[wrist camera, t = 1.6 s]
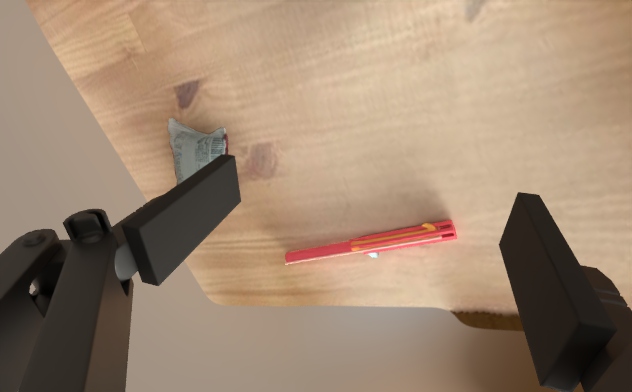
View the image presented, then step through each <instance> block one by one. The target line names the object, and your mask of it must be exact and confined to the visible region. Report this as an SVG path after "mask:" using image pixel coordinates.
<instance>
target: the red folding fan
mask: <svg viewBox="0 0 632 392" xmlns="http://www.w3.org/2000/svg"><path fill="white" fill-rule="evenodd" d="M446 225H450V226H449V227H443V228H440V227H441V226H446ZM437 227H438V228H437ZM453 239H457V235H456V231H455V227H454V225H453V223H452V221H451V220H449V221H443V222H438V223H433V224H429V223H424V224H422V226H417V227H412V228H406V229H401V230H396V231H390V232H385V233H380V234H375V235H369V236H364V237H359V238H357V239H352V240H349V241H346V242H341V243H335V244H330V245H324V246H319V247H313V248H308V249H303V250H297V251H292V252H287V253H286V256H285V257H286V262H285V265H287V264H293V263H299V262H305V261H311V260H317V259H323V258H329V257H335V256H341V255H347V254H353V253H359V252H363V254H368V255H370V256H372V257H373V258H376V257H378V256H379V253H377V252H380V251H386V250H392V249H398V248H404V247H411V246H417V245H423V244H429V243H435V242H441V241H447V240H453Z"/></svg>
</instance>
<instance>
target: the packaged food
mask: <svg viewBox="0 0 632 392" xmlns="http://www.w3.org/2000/svg"><path fill="white" fill-rule="evenodd" d="M168 132H169V134H170V135H171V139H170V146H171V149H172V152H173V157H174V163H175V174H176V177H177V185H178V184H180V183H181V182H183V181H184V180H185V179H187V178H188V177H190V176H191V175H193V174H194V173H195V172H197V171H198V170H200V169H201V168H202V167H204V166H205V165H207V164H208V163H210V162H211V161H212V160H214V159H215V158H217V157H218V156H220V155H221V154H225V155H228V137H227V134H226V130H225V127H221V128H219V129H217V130H216V131H214V132H212V133H211V134H204V133H201V132H198V131H195V130H194V129H192V128H190V127H187V126H185V125H183V124H181V123H178V121H177V120H174V118H170V119H169V122H168Z"/></svg>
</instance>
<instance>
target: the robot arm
mask: <svg viewBox="0 0 632 392" xmlns="http://www.w3.org/2000/svg"><path fill="white" fill-rule="evenodd" d="M240 202H241V198H240V190H239V183H238V176H237V169H236V162H235V156H233V155H225V154H221V155H220V156H218V157H217V158H215V159H214V160H212V161H211V162H210V163H208V164H207V165H205V166H204V167H202V168H201V169H200V170H198V171H197V172H195V173H194V174H193V175H191V176H190V177H188V178H187V179H185V180H184V181H183V182H181V183H180V184H178V185H177V186H176V187H174V188H173V189H171V190H170V191H168V192H167V193H166V194H164V195H161V196H159V197H156V198H154V199H152V200H150V201H149V202H148V203H146V204H145V205H143V207H140V208H139V209H137V210H136V212H133V213H132V214H130V215H129V216H127V217H126V218H125V219H123V220H122V221H120V222H119V223H117V224H116V225H114V226H113V227H111V225H110V222H109V220H108V217H107V215H106V212H105V211H104V210H102V209H88V210H84V211H80V212H78V213H75V214H73V215H71V216H70V217H68V218H67V219H66V220H65V221H64V222H63V225H64V227H65V229H66V231H67V233H68V235H69V237H70V239H71V240H59V238H58V236H57V234H56V233H55V231H54V230H52V229H41V230H35V231H32V232H28V233H26V234H25V235H23V236H21V237H19V238H18V239H16V240H15V241H14V242H13V243H12V244H11V245H10V246H9V247H8V248H6V249H5V251H3V252H2V253H1V254H0V392H125V387H126V373H127V361H128V349H129V336H130V322H131V311H132V298H133V285H134V284H133V280H132V278H131V277H132V276H133V275H134V274H135V273H136V272H137V271H138V272H139V274H140V277H141V280H142V282H144V283H148V284H152V285H156V286H159V285H160V284H161V283H162V282H163V281H164V280H165V279H166V278H167V277H168V276H169V275H170V274H171V273H172V272H173V271H174V270H175V269H176V268H177V267H178V266H179V265H180V264H181V263H182V262H183V261H184V260H185V258H186V257H187V256H188V255H189V254H190V253H191V252H192V251H193V250H194V249H195V248H196V247H197V246H198V245H199V244H200V243H201V242H202V241H203V240H204V239H205V238H206V237H207V236H208V235H209V234H210V233H211V232H212V231H213V230H214V229H215V228H216V227H217V226H218V225H219V223H220V222H221V221H222V220H223V219H224V218H225V217H226V216H227V215H228V214H229V213H230V212H231V211H232V210H233V209H234V208H235V207H236V206H237V205H238V204H239V203H240ZM499 246H500V250H501V253H502V257H503V260H504V264H505V267H506V270H507V274H508V277H509V281H510V284H511V287H512V291H513V294H514V298H515V301H516V305H517V308H518V311H519V315H520V318H521V322H522V325H523V328H524V332H525V335H526V339H527V342H528V346H529V349H530V352H531V356H532V359H533V363H534V366H535V369H536V373H537V376H538V380H539V383H540V386H543V387H547V388H551V389H555V390H558V391H562V392H573V391H574V389H575V388H576V387H577V385H578V384H579V382H581V384H582V387H583V389H584V392H632V311H631V309H630V308H629V307H627V303H626V302H625V300H624V299H623V297H622V296H620V293H619V291H618V290H617V288H616V287H615V285H614V284H613V282H612V281H611V280H610V279H609V278H608V277H606V276H605V275H604V274H603V273H602V272H600V271H599V270H598V269H597V268H592V267H586V266H581V265H580V264H579V262H578V261H577V259H576V257H575V256H574V254H573V252H572V250H571V249H570V247H569V245H568V244H567V242H566V240H565V238H564V237H563V235H562V233H561V232H560V230H559V228H558V227H557V225H556V223H555V221H554V220H553V218H552V216H551V215H550V213H549V211H548V209H547V208H546V206H545V204H544V203H543V201H542V199H541V197H540V196H539V195H536V194H528V193H520V192H518V194H517V197H516V199H515V202H514V205H513V208H512V210H511V213H510V216H509V219H508V221H507V224H506V227H505V230H504V232H503V235H502V238H501V241H500V243H499ZM31 283H33V285H34V286H35V288H36V290H35V291H34V292H33V294H30V293H29V290H30V285H31ZM18 390H19V391H18Z"/></svg>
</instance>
